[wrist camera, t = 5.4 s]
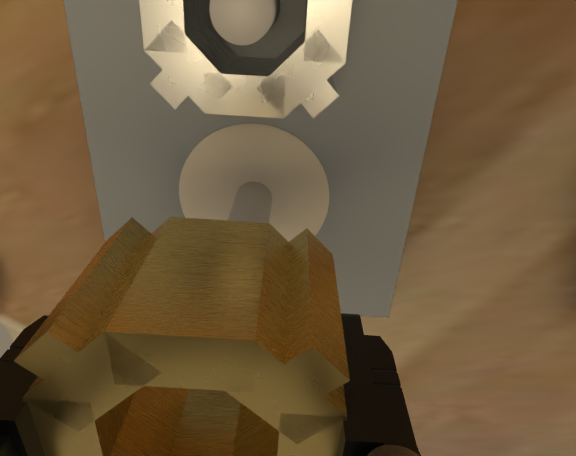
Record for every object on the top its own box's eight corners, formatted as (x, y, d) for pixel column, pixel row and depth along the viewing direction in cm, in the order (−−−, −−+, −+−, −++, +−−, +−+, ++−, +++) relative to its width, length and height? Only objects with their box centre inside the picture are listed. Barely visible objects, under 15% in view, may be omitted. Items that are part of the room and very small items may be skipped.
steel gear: (349, -89, 14) (365, -117, 10) (330, 95, 17) (338, 121, 13) (170, -100, 14) (126, -132, 10) (181, 85, 17) (149, 109, 13)
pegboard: (485, -201, 14) (618, -342, 8) (383, 299, 23) (410, 398, 18) (46, -230, 14) (-136, -390, 8) (125, 283, 23) (68, 377, 18)
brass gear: (339, 227, 10) (360, 346, 7) (317, 393, 13) (324, 537, 10) (98, 212, 10) (-3, 325, 7) (127, 381, 13) (65, 523, 10)
